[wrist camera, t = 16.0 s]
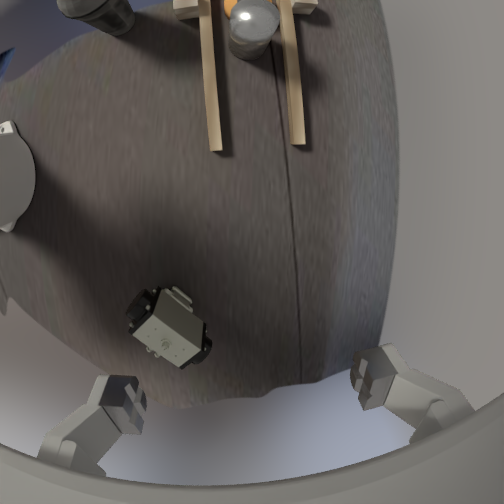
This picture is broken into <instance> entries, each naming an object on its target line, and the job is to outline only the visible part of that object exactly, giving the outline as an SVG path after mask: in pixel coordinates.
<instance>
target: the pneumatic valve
mask: <svg viewBox="0 0 504 504" xmlns="http://www.w3.org/2000/svg"><path fill="white" fill-rule="evenodd" d="M171 289H172V290H171V291H170V290H169V289H167V288H165V289H164V290H163V289H161V288H160V287H159V286H158V287H157V288H156V289H154V290H153V291H152V293H150V292H149V291H147V290H146V289H143V290H142V291H141V292H140V293H139V294H138V295H137V296H136V297H135V299H134V300H133V301H132V303H131V304H130V306H129V307H128V309H127V311H126V316H128V317H129V318H130V319H131V320H132V321H131V322H130V324H129V326H130V329H129V333H130V334H132V335H133V336H134V337H136V338H137V339H138V340H140V341H141V342H142V343H144V344H145V345H147V346H148V347H147V348H146V350H147V351H148V352H151V351H152V350H154V351H155V352H156V353H154V355H155V357H157V358H158V357H160V356H162V357H164V358H165V359H167V360H168V361H170V362H171V363H173V364H174V365H176V366H177V367H179V368H180V369H183V368H185V367H186V366H187V365H189V364H190V363H193V364H199V363H201V362H202V361H203V360H204V359H205V358H206V357H207V355H208V354H209V352H210V350H211V348H212V340H211V339H209V338H208V337H207V336H206V332H207V330H206V324H205V323H204V322H203V321H202V320H200V319H199V318H198V317H196V316H195V315H194V314H192V312H193V309H192V308H191V307H190V304H192V301H191V298H190V297H189V296H187V295H186V294H185V293H184V292H182V291H181V290H180V289H179V288H178V287H176V286H175V287H174V286H172V288H171Z"/></svg>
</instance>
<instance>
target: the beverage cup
mask: <svg viewBox="0 0 504 504" xmlns="http://www.w3.org/2000/svg"><path fill="white" fill-rule="evenodd" d="M57 4H58V8H59V9H60V10H61V12H62V13H63V14H64V15H65V16H66V17H67V18H71V19H76V20H80V21H83V22H86V23H87V24H89V25H91V26H93V27H95V28H97V29H99V30H101V31H103V32H105V33H108V34H110V35H113V36H118V35H122V34H124V33H126V32H127V31H129V30H130V29H131V28H132V26H133V25H134V22H135V15H134V13H133V10H132V8H131V6H130V4H129V2H128V0H57Z"/></svg>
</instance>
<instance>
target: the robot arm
mask: <svg viewBox="0 0 504 504" xmlns="http://www.w3.org/2000/svg"><path fill="white" fill-rule="evenodd" d="M34 188H35V166H34V161H33V157H32V154H31V152H30V149H29V147H28V146H27V144H26V143H25V142H24V140H23V139H22V138H21V137H20V136H19V135H18V133H17V130H16V127H15V124H14V122H13V121H7V122H4V123H2V124H0V229H1V230H3V231H5V232H9V231H12V230H13V228H14V226H15V223H16V221H17V219H18V218H19V217H20V216H21V215H22V214H23V213H24V212H25V211H26V209H27V208H28V206H29V204H30V202H31V200H32V197H33V193H34ZM353 361H354V363H355V364H354V365H353V366H352V367H351V371H350V379H351V383H352V386H353V389H354V390H355V391H357V392H359V396H358V400H359V402H360V404H361V406H362V408H363V410H364V411H365V410H369V409H372V408H376V407H379V406H383V405H384V407H385V408H387V409H388V410H389V411H391V412H392V413H394V414H395V415H396V416H398V417H400V418H401V419H402V420H404V421H405V422H407V423H408V424H409V425H411V426H412V427H414V428H415V429H416V430H415V432H414V433H413V435H412V436H411V438H410V440H409V442H410V444H409V445H407V446H404V447H402V448H399V449H397V450H394V451H391V452H389V453H386V454H383V455H380V456H378V457H374V458H371V459H369V460H365V461H362V462H359V463H356V464H352V465H348V466H345V467H341V468H337V469H333V470H329V471H325V472H321V473H316V474H311V475H306V476H301V477H295V478H290V479H284V480H276V481H269V482H260V483H250V484H237V485H212V486H192V485H189V486H188V485H168V484H155V483H145V482H137V481H128V480H122V479H116V478H110V477H106V472H105V471H104V470H103V469H102V468H101V467H100V466H98V465H97V463H98V461H99V460H100V459H101V458H102V457H103V455H105V453H106V452H107V451H108V450H109V449H110V448H111V446H112V445H113V444H114V443H115V442H116V441H117V440H118V438H119V437H120V436H121V435H122V434H137V435H141V433H142V428H143V423H144V421H143V419H142V417H141V416H142V415H143V414H144V413H145V412H146V407H147V401H146V396H145V393H144V391H143V390H142V389H141V388H139V387H138V385H139V381H138V379H137V377H136V376H125V375H105V374H100V375H99V376H98V377H97V379H96V382H95V384H94V387H93V389H92V392H91V394H90V397H89V399H88V402H87V404H83V405H82V406H81V407H79V408H78V409H77V410H75V411H74V412H73V413H72V414H70V415H69V416H68V417H67V418H65V419H64V420H63V421H62V422H60V423H59V424H58V425H56V426H55V427H54V428H53V429H51V430H50V431H49V432H47V433H46V435H45V437H44V440H43V442H42V445H41V447H40V450H39V453H38V456H37V458H35V457H33V456H30V455H27V454H24V453H22V452H19V451H17V450H15V449H12V448H10V447H7V446H5V445H3V444H1V443H0V504H504V393H502V394H501V395H500V396H498V397H497V398H495V399H494V400H492V401H491V402H489V403H488V404H486V405H484V406H483V407H481V408H480V409H478V410H476V411H475V410H474V409H473V408H472V406H471V405H470V403H469V402H468V400H467V399H466V398H465V396H464V395H463V393H462V392H461V391H460V390H459V389H457V388H454V387H452V386H450V385H448V384H446V383H444V382H441V381H439V380H437V379H435V378H433V377H430V376H428V375H426V374H424V373H421V372H419V371H417V370H415V369H411V370H410V368H409V367H408V365H407V364H406V362H405V361H404V360H403V358H402V357H401V355H400V354H399V352H398V351H397V350H396V348H395V347H394V345H393V344H391V343H389V344H385V345H381V346H377V347H373V348H369V349H365V350H361V351H357V352H355V353H354V356H353Z"/></svg>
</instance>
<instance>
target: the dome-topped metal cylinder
mask: <svg viewBox="0 0 504 504" xmlns="http://www.w3.org/2000/svg"><path fill="white" fill-rule="evenodd" d="M279 22H280V13H279V11H278V9H277V8H276V6H275V5H274V4H272V3H271V2H269V1H267V0H241V1H239V2H238V3H236V4H235V5H234V6H233V8H232V10H231V13H230V26H229V49H230V51H231V53H232V54H233V55H234V56H236V57H237V58H240V59H243V60H253V59H256V58H258V57H260V56H261V55H262V54H263V53H264V52H265V50H266V48H267V46H268V44H269V42H270V40H271V38H272V36H273V34H274V32H275V30H276V29H277V27H278V25H279Z"/></svg>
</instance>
